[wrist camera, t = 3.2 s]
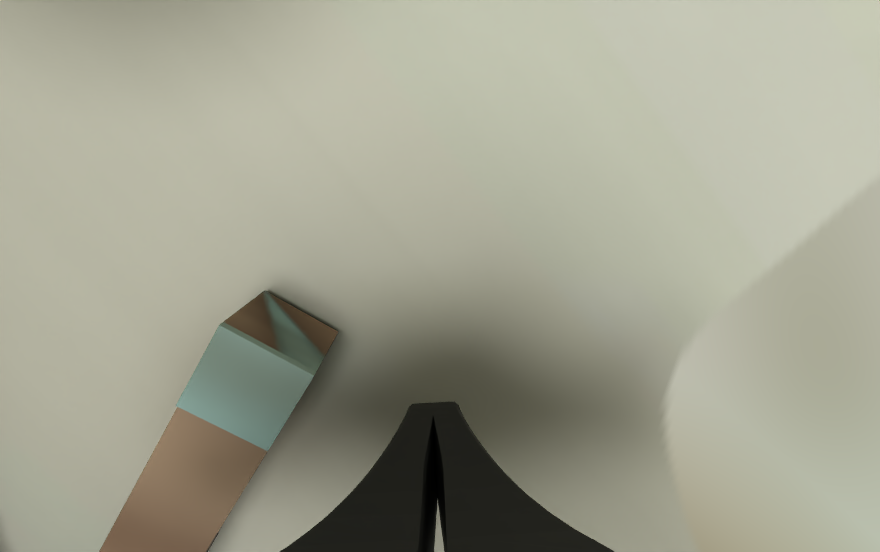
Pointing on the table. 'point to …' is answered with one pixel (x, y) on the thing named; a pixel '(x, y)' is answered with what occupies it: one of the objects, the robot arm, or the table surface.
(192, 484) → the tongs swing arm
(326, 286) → the table surface
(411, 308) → the table surface
